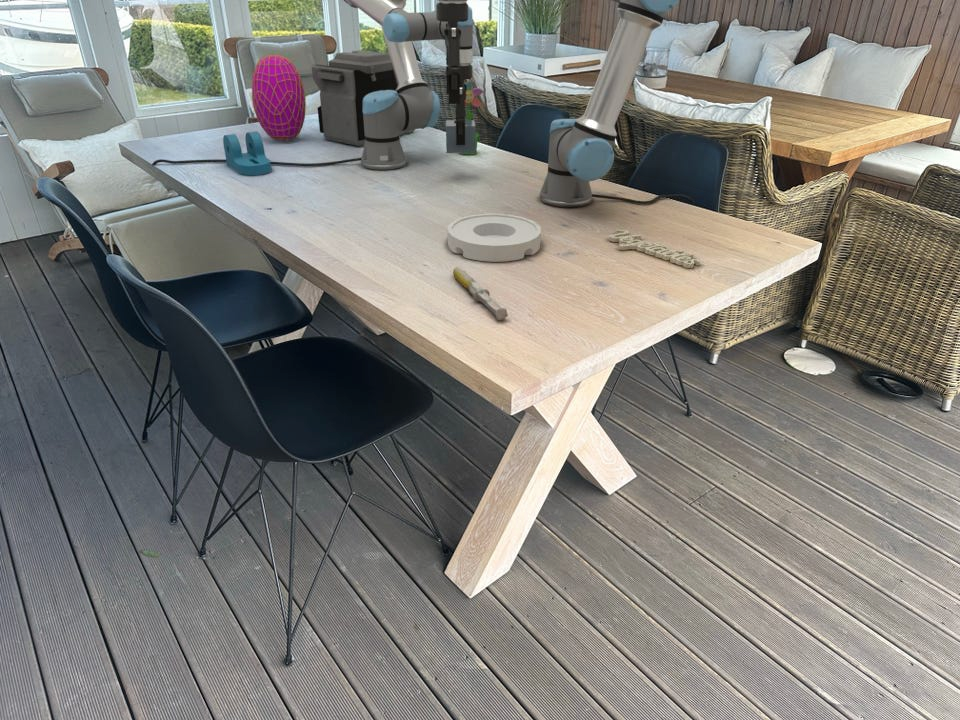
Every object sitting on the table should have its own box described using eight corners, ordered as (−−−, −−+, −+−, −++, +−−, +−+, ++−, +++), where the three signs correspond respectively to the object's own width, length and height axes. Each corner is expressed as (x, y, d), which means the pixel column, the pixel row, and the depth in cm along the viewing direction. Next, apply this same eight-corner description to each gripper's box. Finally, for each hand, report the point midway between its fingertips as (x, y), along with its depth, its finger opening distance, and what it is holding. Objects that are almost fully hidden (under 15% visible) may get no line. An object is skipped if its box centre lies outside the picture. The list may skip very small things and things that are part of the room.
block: (474, 146, 222) (474, 120, 218) (475, 153, 214) (475, 126, 210) (446, 146, 221) (445, 120, 217) (446, 153, 214) (445, 126, 210)
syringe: (449, 274, 155) (449, 263, 153) (465, 272, 156) (464, 260, 154) (490, 323, 135) (491, 310, 133) (508, 319, 136) (508, 307, 134)
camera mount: (227, 164, 233) (221, 132, 227) (257, 160, 238) (252, 129, 233) (244, 176, 220) (239, 143, 215) (276, 172, 225) (271, 139, 220)
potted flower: (461, 156, 246) (461, 82, 233) (452, 151, 252) (451, 78, 239) (485, 153, 249) (486, 80, 237) (475, 148, 255) (475, 77, 243)
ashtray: (450, 227, 182) (450, 212, 180) (538, 229, 181) (539, 214, 179) (444, 260, 162) (444, 244, 160) (542, 262, 161) (543, 246, 159)
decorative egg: (293, 132, 276) (283, 50, 261) (319, 140, 264) (310, 56, 249) (249, 139, 265) (236, 54, 250) (273, 148, 253) (261, 60, 238)
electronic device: (380, 124, 291) (375, 47, 275) (420, 131, 280) (417, 51, 264) (314, 140, 265) (305, 55, 250) (356, 148, 254) (349, 60, 239)
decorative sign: (595, 237, 174) (620, 228, 179) (594, 240, 174) (619, 231, 180) (683, 268, 157) (708, 257, 162) (683, 272, 157) (707, 261, 163)
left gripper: (447, 59, 214) (448, 133, 226) (447, 69, 196) (448, 149, 207) (471, 59, 215) (471, 133, 226) (473, 69, 196) (473, 149, 207)
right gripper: (435, -1, 170) (436, 90, 181) (437, 5, 148) (439, 108, 159) (465, -1, 170) (465, 89, 181) (471, 5, 149) (471, 108, 160)
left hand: (460, 141), depth 216 cm, fingers closed on block, 9 cm apart
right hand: (453, 98), depth 170 cm, fingers open, 13 cm apart
